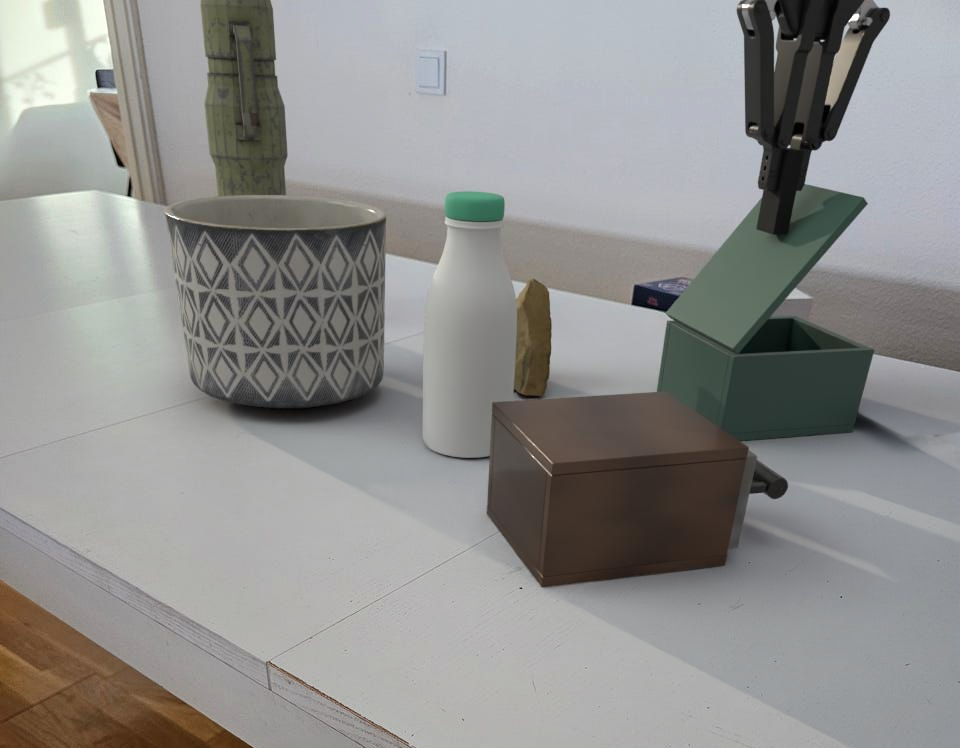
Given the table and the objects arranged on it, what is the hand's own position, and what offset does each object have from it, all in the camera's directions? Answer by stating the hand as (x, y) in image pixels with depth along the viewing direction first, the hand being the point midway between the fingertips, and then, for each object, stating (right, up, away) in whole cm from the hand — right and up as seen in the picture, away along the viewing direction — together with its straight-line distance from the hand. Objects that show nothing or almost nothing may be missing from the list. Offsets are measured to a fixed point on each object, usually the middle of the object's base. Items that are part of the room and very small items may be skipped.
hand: (771, 231), depth 82 cm
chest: (+1, -14, +10) cm, 17 cm away
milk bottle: (-27, -19, 0) cm, 33 cm away
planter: (-45, -12, +10) cm, 47 cm away
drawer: (-13, -28, -14) cm, 34 cm away
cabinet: (-17, -29, -15) cm, 37 cm away
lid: (-1, -2, +2) cm, 3 cm away
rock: (-22, -9, +15) cm, 29 cm away
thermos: (-53, +5, +35) cm, 64 cm away
